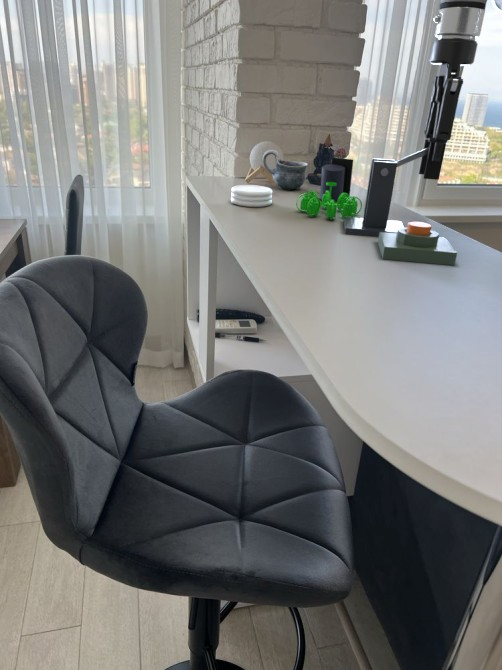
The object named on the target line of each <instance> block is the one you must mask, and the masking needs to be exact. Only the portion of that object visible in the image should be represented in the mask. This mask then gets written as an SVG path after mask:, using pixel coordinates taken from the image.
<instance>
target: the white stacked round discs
mask: <svg viewBox="0 0 502 670" xmlns="http://www.w3.org/2000/svg"><path fill="white" fill-rule="evenodd" d="M230 192H231V193H230V197H231V198H230V202H231V203H232V204H234V205H236V206H240V207H245V208H246V207H247V208H262V207H267V206H270V205H271V204H272V202H273V200H272V199H273V190H272V188H270V187H268V186H265V185H256V184H237V185H234V186H232V187H231V189H230Z"/></svg>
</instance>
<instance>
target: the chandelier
mask: <svg viewBox="0 0 502 670" xmlns="http://www.w3.org/2000/svg"><path fill="white" fill-rule="evenodd" d="M336 184H337V183H334V182H327V183H326V185H328V186H330V193H329V191H326V192H325V194H323V197H322V199H320V197H319V195H318V194H317V192H316V191H314V190H308V191H306V192H305V193H301V194H300V195H299V196H298V197H297V198H296V201H295V205H296V206H295V207H296V208H297V210H298V212H301V213H304V214H307V216H308V217H311V218H314V217H316V216H318V214H319V213H320V211H321V207H323V208H324V210H325V211H326V212H325V217H327V218H328V219H329V220H330V221H332V220H333V219H334V218H336V216H337V210H338V211H339V214H340V215H341V217H342V218H343V219H344V217H354V218H355V216H356V215H358V214H359V213H360V212H361V211H362V208H363V203H362V200H361V199H360V197H358V196H353V195H352V196H351V195H350V197H349V194H347V193H342V194H341V195H340V196H339V198H338V201H337V202H334V200H331V190H332V186H336ZM346 195H347V197H346ZM300 198H301V200H300ZM299 200H300V206H298V201H299ZM358 201H359V202H360V208H359V210H358ZM299 207H300V208H299ZM357 210H358V211H357Z"/></svg>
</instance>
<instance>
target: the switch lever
mask: <svg viewBox="0 0 502 670" xmlns="http://www.w3.org/2000/svg"><path fill="white" fill-rule="evenodd" d="M429 147H430V144H429V145H428V147H427V148H425V149H420V150H418V151H416V152H414V153H412V154H409V155H407V156H404V157H402V158H400V159H398V160H395V162H397V168H399V167H401V166H403V165H406V164H408V163H411V162H413V161H415V160H418V159H420V158H422V156H424V155H427V154H428V152H429ZM385 162H388V161H385Z"/></svg>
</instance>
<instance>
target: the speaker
mask: <svg viewBox="0 0 502 670" xmlns="http://www.w3.org/2000/svg"><path fill="white" fill-rule="evenodd" d="M353 167H354V159H351V158H342V157H341V158H340V157H332V159H331V164H324V165H322V166H321V178H320V192H319V193H320V194H319V199H320V200H322V197H323V194H325V192H326V191H329V193H330V186H328V185H326V183H327V182H334V183H337V184H336V186H332V190H331V200H334V202H335V203H337V201H338V198H339V196H340V195H341V194H342V193H347V194H349V197H351V189H352V188H351V186H352V178H353V169H354V168H353ZM346 197H347V195H346Z"/></svg>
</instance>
